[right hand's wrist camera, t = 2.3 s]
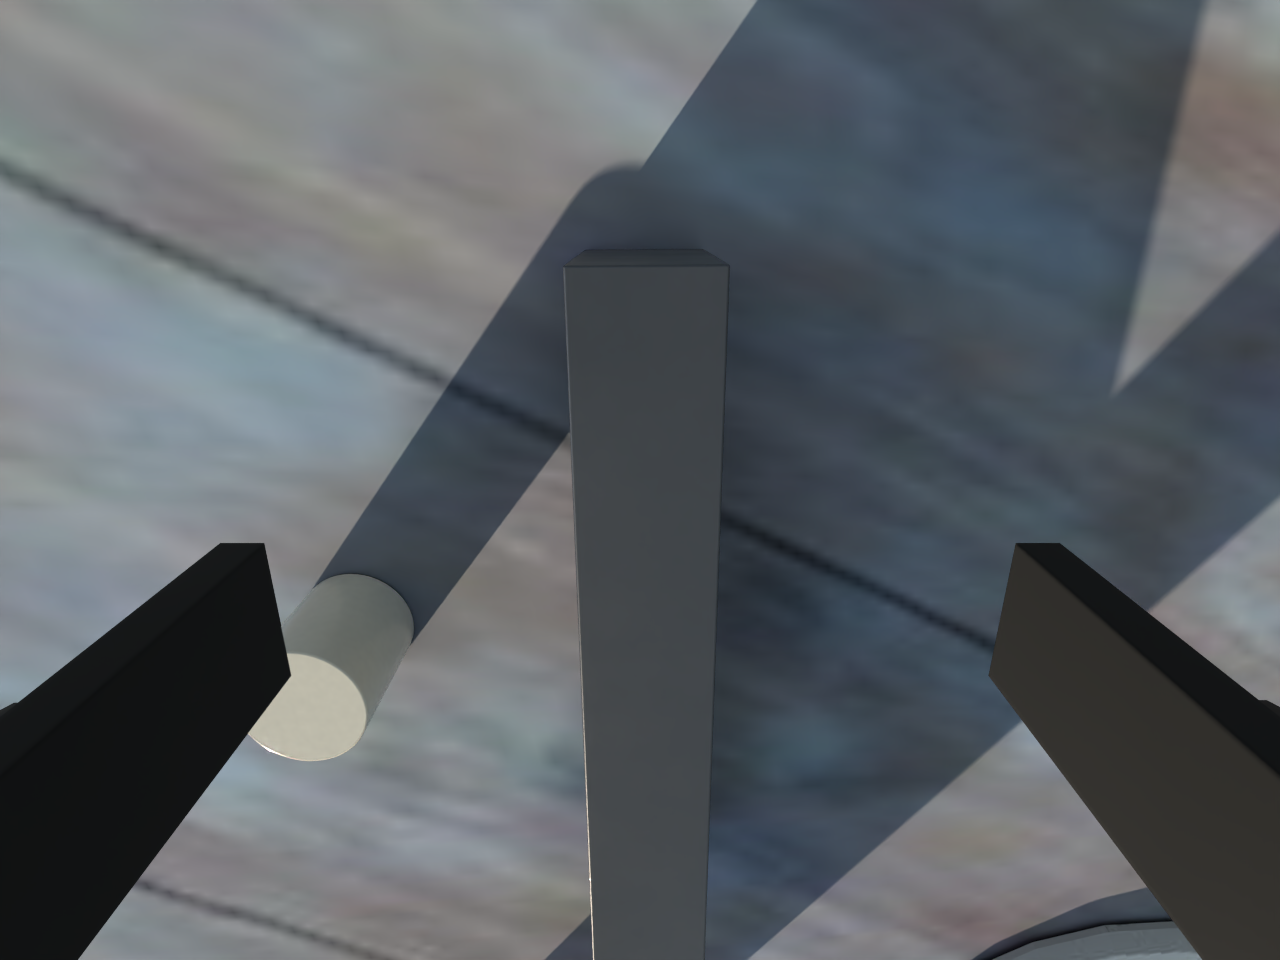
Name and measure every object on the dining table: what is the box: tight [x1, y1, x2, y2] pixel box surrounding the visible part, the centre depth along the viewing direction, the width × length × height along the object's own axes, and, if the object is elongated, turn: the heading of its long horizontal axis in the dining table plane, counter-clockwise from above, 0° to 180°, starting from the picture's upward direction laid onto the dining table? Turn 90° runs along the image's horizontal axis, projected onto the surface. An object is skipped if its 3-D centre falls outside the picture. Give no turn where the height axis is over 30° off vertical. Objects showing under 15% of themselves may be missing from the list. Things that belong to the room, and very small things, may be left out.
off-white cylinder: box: [248, 574, 414, 761], centre depth 29 cm, size 5×5×6 cm
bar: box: [563, 249, 730, 960], centre depth 28 cm, size 28×4×8 cm, turn 0°
